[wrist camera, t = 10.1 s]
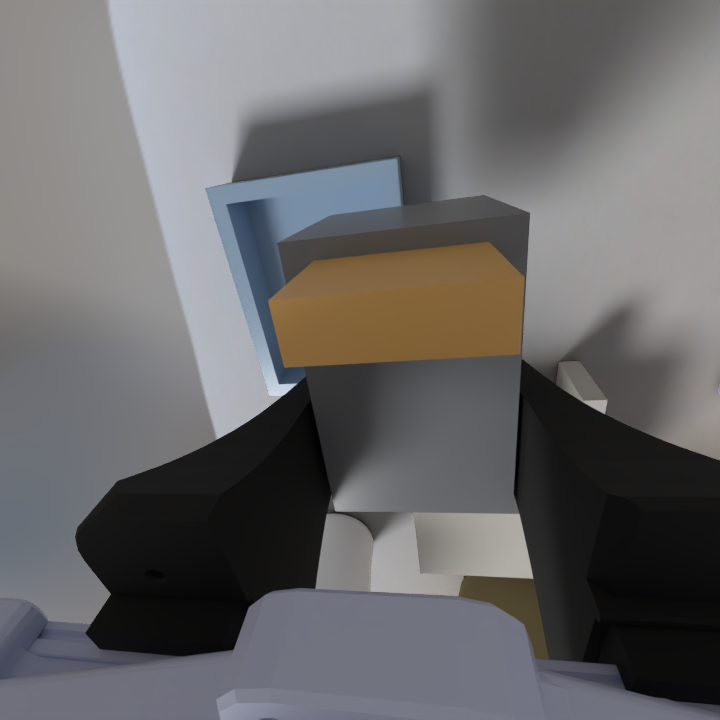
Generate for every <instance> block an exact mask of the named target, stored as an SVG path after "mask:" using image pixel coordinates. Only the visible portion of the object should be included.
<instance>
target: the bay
mask: <svg viewBox="0 0 720 720" xmlns="http://www.w3.org/2000/svg"><path fill="white" fill-rule="evenodd" d="M556 385H557V386H559V387H560V388H562V389H563V390H564V391H566V392H568V393H569V394H571V395H572V396H574V397H576V398H577V399H579V400H580V401H582V402H584V403H585V404H587V405H589V406H590V407H592V408H594V409H596V410H598V411H600V412H602V413H604V414H605V411H606V406H607V401H608V400H607V398H606V397H605V395H604V394H603V393H602V391H601V390H600V389H599V387H598V386H597V384H596V383H595V382H594V380H593V379H592V377H591V376H590V375H589V373H588V372H587V371H586V369H585V368H584V366H583V365H582V364H581V362H580V361H563V362H559V364H558V372H557V379H556ZM414 519H415V528H416V537H417V547H418V556H419V565H420V573H425V574H446V575H467V576H488V577H509V578H530V579H533V574H532V569H531V564H530V560H529V555H528V550H527V545H526V541H525V536H524V532H523V527H522V523H521V519H520V514H519V511H518V507H517V504H516V500H515V497H514V496H513V514H488V513H418V512H414Z"/></svg>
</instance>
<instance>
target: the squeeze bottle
mask: <svg viewBox="0 0 720 720" xmlns="http://www.w3.org/2000/svg"><path fill="white" fill-rule="evenodd" d="M458 597H463V598H468V599H473V600H478V601H483V602H488V603H491V604H493V605H495V606H496V607H498V608H500V609H501V610H503V611H505V612H506V613H508V614H510V615H511V616H513V617H515V618H516V619H517V620H519V621H520V622H521V623H523V624H524V625H525V628H526V631H527V633H528V636H529V638H530V641H531V643H532V647H533V652H534V656H535V659H548V660H549V657H548V652H547V646H546V641H545V635H544V630H543V624H542V619H541V614H540V609H539V604H538V599H537V594H536V589H535V583H534V579H530V578H509V577H488V576H466V577H465V578H464V580H463V581H462V584H461V588H460V592H459V596H458Z"/></svg>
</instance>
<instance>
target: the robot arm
mask: <svg viewBox="0 0 720 720" xmlns="http://www.w3.org/2000/svg"><path fill="white" fill-rule="evenodd" d="M718 394H719V396H720V385H719V388H718ZM330 497H331V489H330V485H329V480H328V475H327V471H326V466H325V462H324V457H323V452H322V448H321V443H320V439H319V434H318V429H317V425H316V420H315V416H314V411H313V406H312V402H311V397H310V393H309V388H308V383H307V379H306V376H305V377H304V378H303V379H302V380H301V381H300V382H299V383H297V384H296V385H295V386H294V387H293V388H292V389H291V390H289V391H288V392H287V393H286V394H285V395H283V396H282V397H281V398H280V399H278V400H277V401H276V402H274V403H273V404H272V405H271V406H269V407H268V408H267V409H266V410H264V411H263V412H261V413H260V414H259V415H257V416H256V417H254V418H253V419H251V420H250V421H248V422H247V423H245V424H244V425H242V426H240V427H239V428H237V429H236V430H234V431H232V432H230V433H228V434H227V435H225V436H223V437H221V438H219V439H217V440H216V441H214V442H212V443H210V444H208V445H206V446H204V447H202V448H200V449H198V450H196V451H194V452H192V453H190V454H187V455H185V456H183V457H180V458H178V459H176V460H173V461H171V462H169V463H166V464H164V465H161V466H159V467H156V468H153V469H150V470H148V471H145V472H142V473H139V474H136V475H134V476H131V477H128V478H125V479H122V480H119V481H117V482H116V483H115V485H114V486H113V487H112V488H111V489H110V491H109V492H108V493H107V494H106V495H105V496H104V497H103V499H102V500H101V501H100V502H99V503H98V504H97V505H96V507H95V508H94V509H93V510H92V511H91V513H90V514H89V515H88V516H87V517H86V518H85V519H84V521H83V522H82V523H81V524H80V525H79V526H78V528H77V532H76V536H75V538H76V543H77V547H78V551H79V552H80V554H81V556H82V557H83V559H84V561H85V562H86V563H87V564H88V566H89V567H90V568H91V569H92V571H93V572H94V573H95V574H96V576H97V577H98V578H99V579H100V581H101V582H102V583H103V584H104V586H105V587H106V588H107V589H108V591H109V592H110V593H111V595H110V597H109V598H108V600H107V601H106V603H105V604H104V606H103V607H102V609H101V610H100V612H99V613H98V615H97V616H96V618H95V619H94V621H93V622H92V624H82V623H69V622H56V621H48V618H47V616H46V615H45V614H44V613H43V611H42V610H40V608H39V607H37V606H36V605H34V604H33V603H31V602H28V601H26V600H22V599H14V598H0V720H720V461H719V460H716V459H713V458H710V457H707V456H705V455H702V454H699V453H696V452H693V451H690V450H687V449H684V448H681V447H679V446H676V445H673V444H671V443H668V442H666V441H663V440H660V439H658V438H655V437H653V436H651V435H648V434H646V433H644V432H641V431H639V430H637V429H634V428H632V427H630V426H628V425H626V424H623V423H621V422H619V421H617V420H615V419H613V418H611V417H609V416H607V415H605V414H604V413H602V412H600V411H598V410H596V409H594V408H592V407H590V406H589V405H587V404H585V403H584V402H582V401H580V400H579V399H577V398H576V397H574V396H572V395H571V394H569V393H568V392H566V391H564V390H563V389H562V388H560V387H559V386H557V385H556V384H554V383H553V382H551V381H550V380H549V379H547V378H546V377H545V376H543V375H542V374H541V373H539V372H538V371H537V370H535V369H534V368H533V367H531V366H530V365H529V364H528V363H526V362H525V361H524V360H522V359H521V375H520V393H519V410H518V427H517V445H516V462H515V479H514V497H515V500H516V504H517V507H518V511H519V514H520V519H521V523H522V527H523V532H524V536H525V541H526V545H527V550H528V555H529V560H530V564H531V569H532V574H533V579H534V583H535V589H536V594H537V599H538V604H539V609H540V614H541V619H542V624H543V630H544V635H545V641H546V646H547V652H548V657H549V660H548V659H535V656H534V652H533V647H532V643H531V641H530V638H529V636H528V633H527V631H526V628H525V625H524V624H523V623H521V622H520V621H519V620H517V619H516V618H515V617H513V616H511V615H510V614H508V613H506V612H505V611H503V610H501V609H500V608H498V607H496V606H495V605H493V604H491V603H488V602H483V601H478V600H473V599H468V598H463V597H458V596H443V595H424V594H405V593H385V592H366V591H347V590H327V589H316V581H317V573H318V566H319V560H320V553H321V546H322V539H323V533H324V527H325V521H326V515H327V510H328V506H329V501H330Z"/></svg>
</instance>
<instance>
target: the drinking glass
mask: <svg viewBox="0 0 720 720" xmlns="http://www.w3.org/2000/svg"><path fill="white" fill-rule="evenodd" d="M372 555H373V537H372V535H371V532H370V531H369V529H368V528H367V527H366V526H365V525H364V524H363V523H362V522H360V521H359V520H357V519H355V518H353V517H351V516H348V515H344V514H337V513H331V514H327V515H326V521H325V527H324V533H323V539H322V546H321V553H320V560H319V566H318V573H317V581H316V589H327V590H347V591H366V592H370V587H371V563H372Z"/></svg>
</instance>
